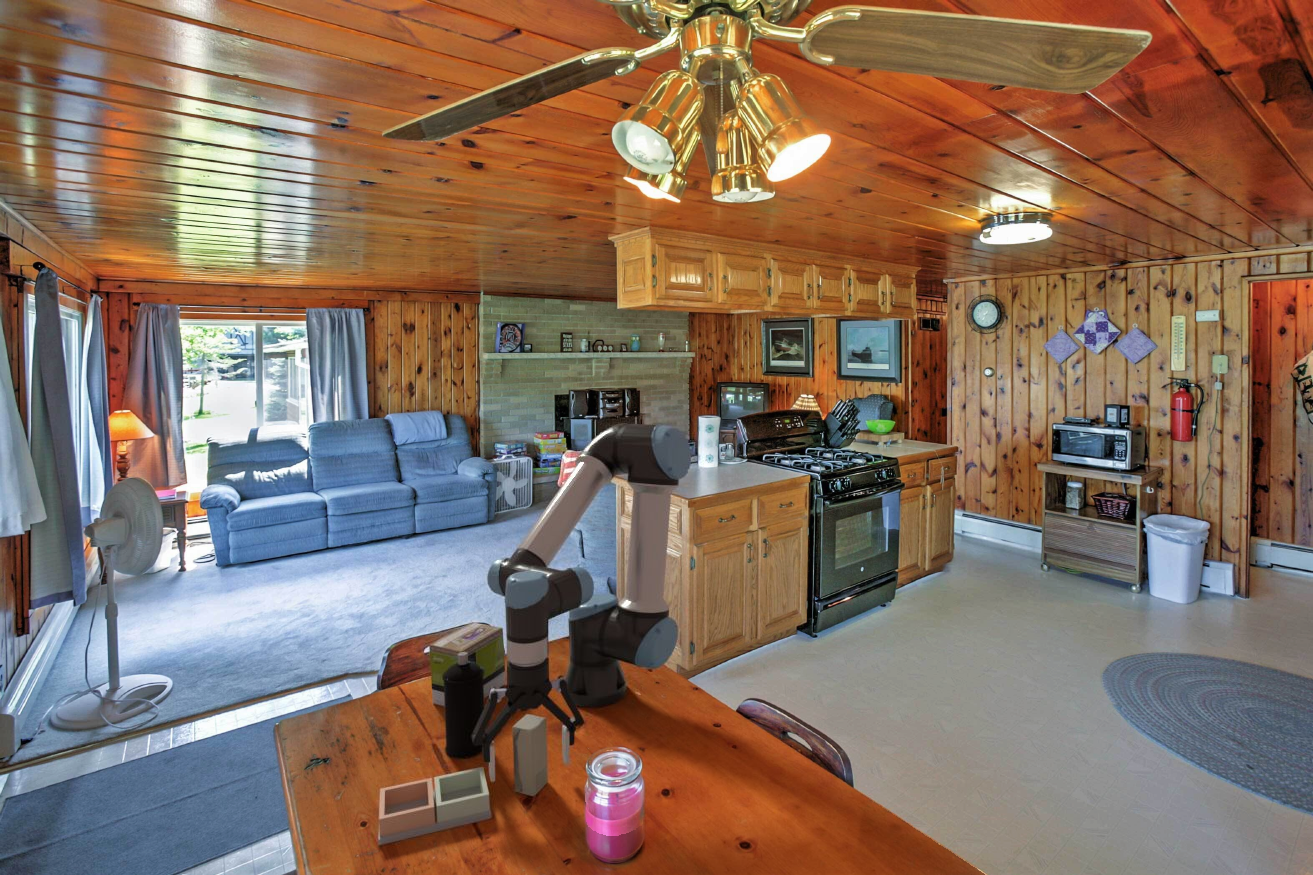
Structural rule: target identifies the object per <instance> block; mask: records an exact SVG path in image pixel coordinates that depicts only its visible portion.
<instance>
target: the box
mask: <svg viewBox="0 0 1313 875" xmlns="http://www.w3.org/2000/svg"><path fill="white" fill-rule="evenodd" d="M547 731H548V730H547V718H546V717H543V716H538V715H533V714H528V713H526V714H525V715H524V716H523V717H522V718H520V719H519V720H518V721H517V722H516V723H515V724H514V725H513V726H512V749H513V751H512V753H513V754H512V755H513V777H514V778H513V779H514V780H513V781H514V782H513V784H514V792H516V793H519V794H523V795H526V796H530V797H535V796H536V795H537V794H538V793H539V792H540V791H541V789H543V787H544V786H545V785H546V784H547V783H548V782H549V774H548V772H549V771H548V768H549V767H548V766H549V765H548V740H547V739H548V735H547Z"/></svg>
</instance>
